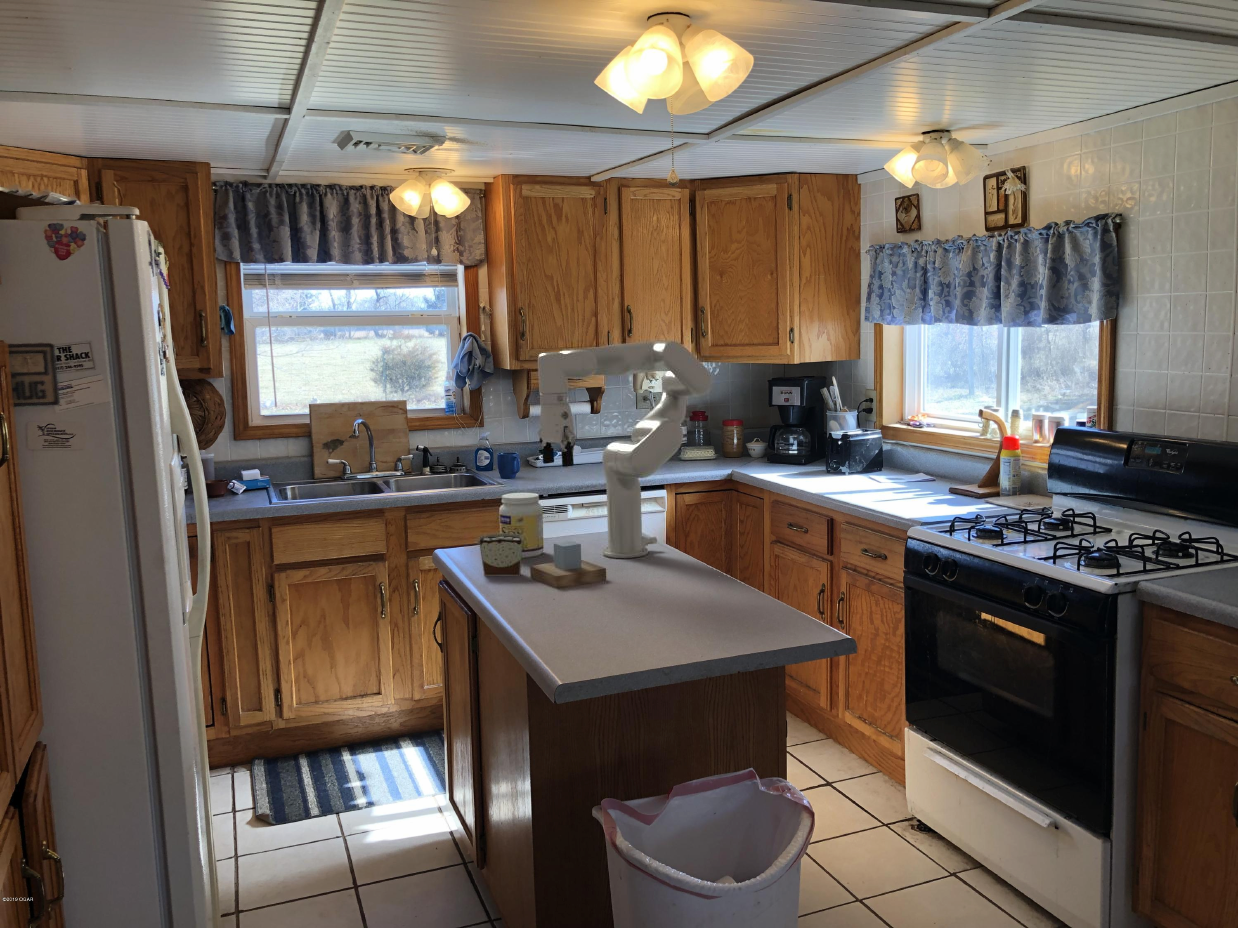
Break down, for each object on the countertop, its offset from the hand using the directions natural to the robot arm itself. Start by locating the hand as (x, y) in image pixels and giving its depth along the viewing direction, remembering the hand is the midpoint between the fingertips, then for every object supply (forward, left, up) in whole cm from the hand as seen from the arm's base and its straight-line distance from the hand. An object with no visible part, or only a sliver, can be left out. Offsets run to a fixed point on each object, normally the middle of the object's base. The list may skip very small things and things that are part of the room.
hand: (558, 464), depth 262 cm
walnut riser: (+6, +15, -27) cm, 31 cm away
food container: (+16, -1, -27) cm, 32 cm away
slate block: (+6, +15, -24) cm, 29 cm away
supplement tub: (+2, -19, -27) cm, 33 cm away
